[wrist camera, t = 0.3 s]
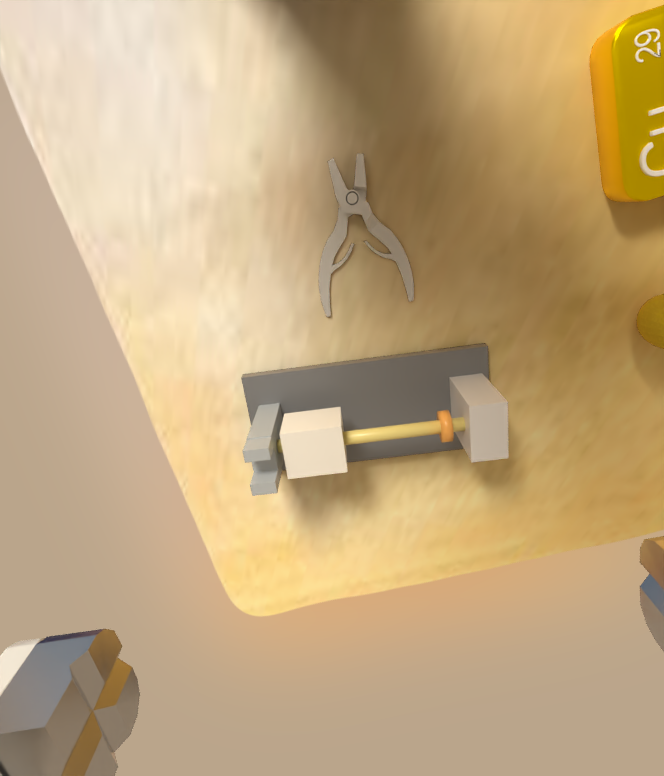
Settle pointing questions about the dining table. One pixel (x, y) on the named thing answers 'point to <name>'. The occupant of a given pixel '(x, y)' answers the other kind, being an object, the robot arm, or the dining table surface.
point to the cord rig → (382, 408)
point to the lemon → (652, 321)
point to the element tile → (630, 106)
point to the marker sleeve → (313, 443)
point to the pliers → (357, 204)
